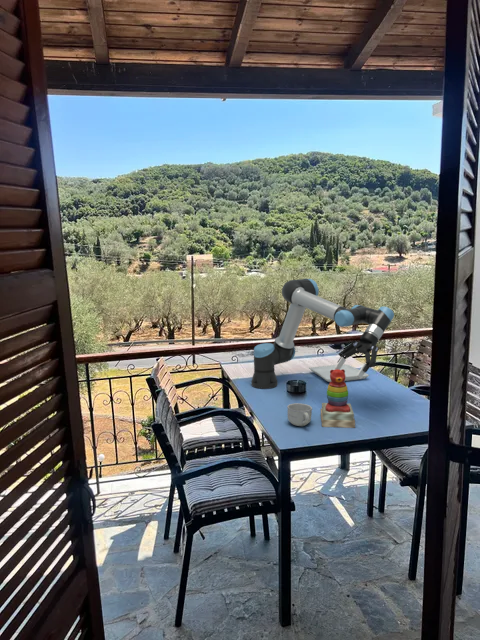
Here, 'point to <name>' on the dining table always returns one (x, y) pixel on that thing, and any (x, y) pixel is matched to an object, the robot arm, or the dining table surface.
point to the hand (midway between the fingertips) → (347, 373)
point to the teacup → (299, 414)
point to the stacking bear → (337, 392)
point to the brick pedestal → (337, 418)
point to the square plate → (325, 370)
